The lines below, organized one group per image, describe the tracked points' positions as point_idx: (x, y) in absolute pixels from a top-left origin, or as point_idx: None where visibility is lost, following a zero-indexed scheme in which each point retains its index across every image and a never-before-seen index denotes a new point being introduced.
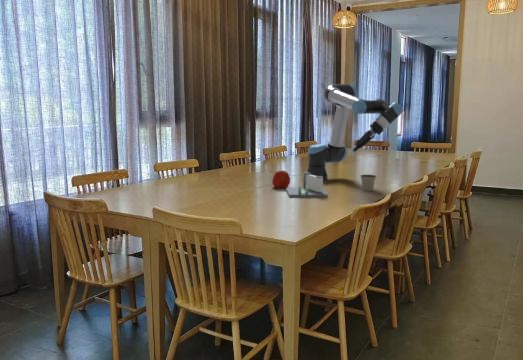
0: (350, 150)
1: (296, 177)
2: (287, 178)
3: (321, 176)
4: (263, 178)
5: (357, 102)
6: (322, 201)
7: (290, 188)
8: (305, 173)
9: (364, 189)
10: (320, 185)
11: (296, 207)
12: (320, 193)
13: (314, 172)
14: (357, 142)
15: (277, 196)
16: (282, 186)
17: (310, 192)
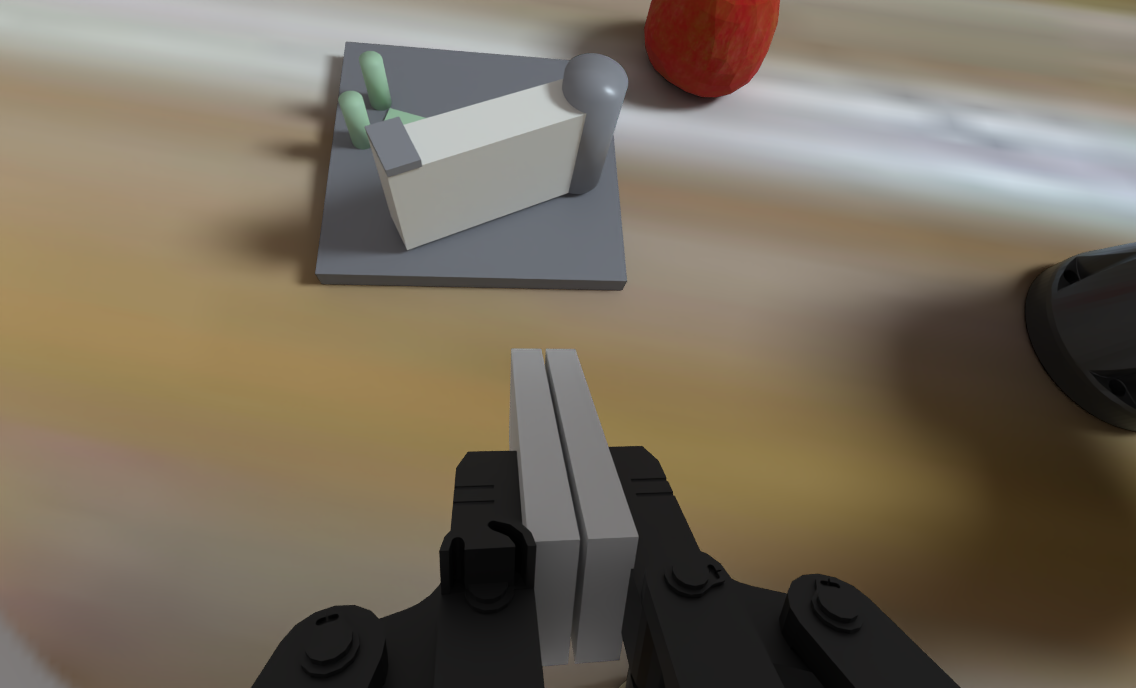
0: (527, 392)
1: (1100, 212)
2: (680, 33)
3: (384, 155)
4: (983, 27)
5: None
6: (168, 221)
7: None
8: (567, 65)
9: (620, 686)
10: (389, 201)
11: (11, 42)
12: (368, 231)
13: (1098, 287)
14: (832, 672)
15: (388, 6)
16: (648, 54)
17: None
